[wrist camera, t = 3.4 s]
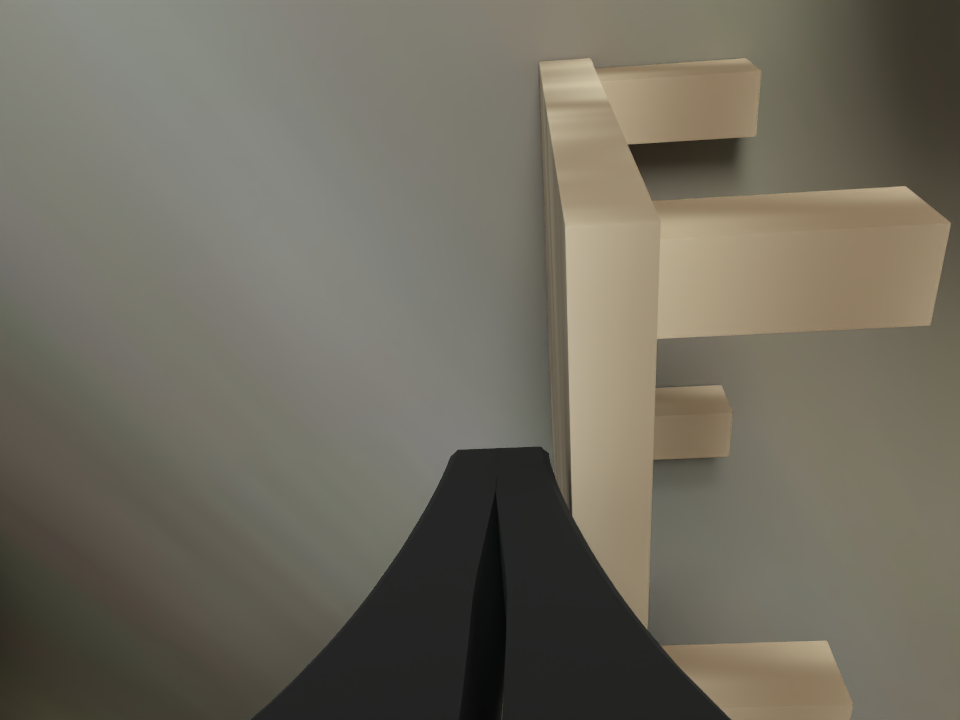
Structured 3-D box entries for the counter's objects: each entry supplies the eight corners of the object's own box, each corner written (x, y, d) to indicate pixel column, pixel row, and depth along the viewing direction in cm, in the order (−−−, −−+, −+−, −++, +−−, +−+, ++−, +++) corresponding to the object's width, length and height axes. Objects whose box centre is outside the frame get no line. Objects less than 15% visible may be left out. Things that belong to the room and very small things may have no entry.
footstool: (552, 441, 21) (578, 771, 14) (538, 62, 17) (565, 226, 9) (717, 434, 21) (840, 765, 13) (746, 47, 17) (954, 204, 9)
